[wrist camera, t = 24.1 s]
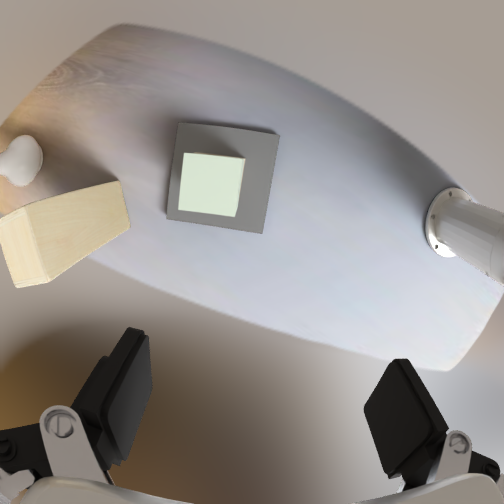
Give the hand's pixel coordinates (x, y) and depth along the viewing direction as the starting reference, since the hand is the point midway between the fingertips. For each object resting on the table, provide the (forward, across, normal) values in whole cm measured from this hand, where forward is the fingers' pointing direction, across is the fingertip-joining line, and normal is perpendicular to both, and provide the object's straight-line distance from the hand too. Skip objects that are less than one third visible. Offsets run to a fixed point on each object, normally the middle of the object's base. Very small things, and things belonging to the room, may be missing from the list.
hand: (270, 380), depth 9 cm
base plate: (+32, +6, -4) cm, 33 cm away
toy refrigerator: (+32, +24, +3) cm, 41 cm away
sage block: (+26, +6, -4) cm, 27 cm away
